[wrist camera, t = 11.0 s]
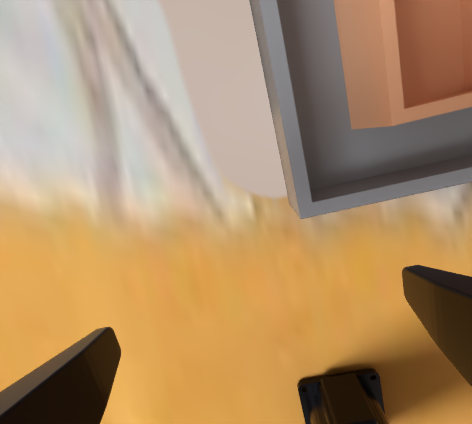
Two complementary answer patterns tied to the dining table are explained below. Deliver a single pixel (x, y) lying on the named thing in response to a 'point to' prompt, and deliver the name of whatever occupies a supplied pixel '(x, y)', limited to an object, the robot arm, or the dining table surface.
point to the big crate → (344, 121)
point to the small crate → (404, 59)
